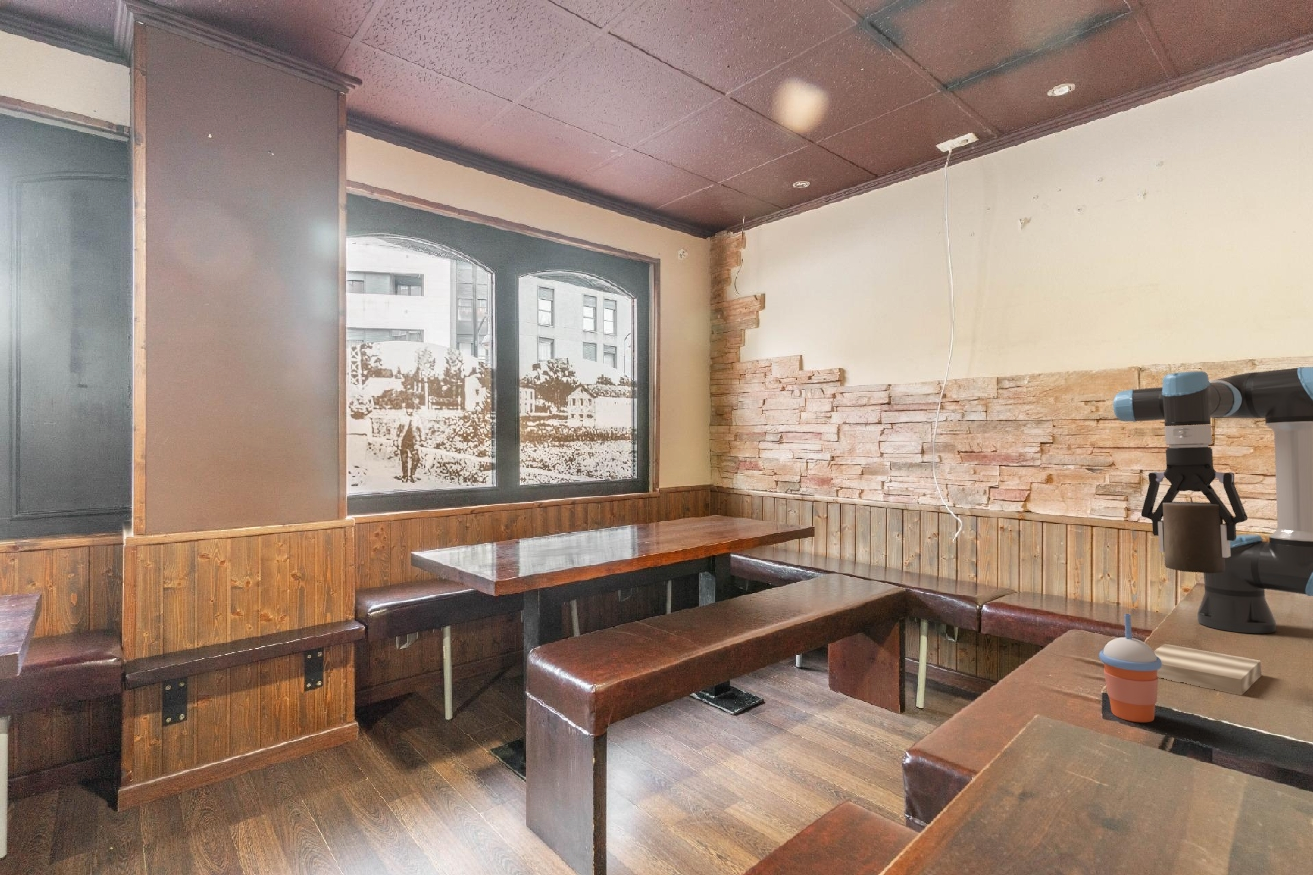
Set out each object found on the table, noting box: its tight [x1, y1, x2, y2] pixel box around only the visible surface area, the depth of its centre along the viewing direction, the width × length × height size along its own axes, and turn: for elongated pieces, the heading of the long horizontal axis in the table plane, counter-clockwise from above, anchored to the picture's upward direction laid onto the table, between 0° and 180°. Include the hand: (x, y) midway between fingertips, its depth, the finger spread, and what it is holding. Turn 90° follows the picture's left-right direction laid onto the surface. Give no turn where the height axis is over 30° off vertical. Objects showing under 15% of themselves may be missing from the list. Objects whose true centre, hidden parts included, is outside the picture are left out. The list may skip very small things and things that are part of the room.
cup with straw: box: [1098, 613, 1162, 723], centre depth 116 cm, size 9×9×18 cm
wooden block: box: [1153, 643, 1262, 696], centre depth 135 cm, size 16×16×3 cm
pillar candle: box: [1162, 496, 1225, 574], centre depth 135 cm, size 10×10×15 cm
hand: (1194, 553), depth 135 cm, fingers closed on pillar candle, 10 cm apart
